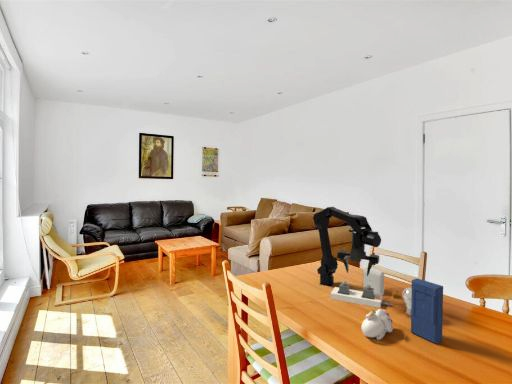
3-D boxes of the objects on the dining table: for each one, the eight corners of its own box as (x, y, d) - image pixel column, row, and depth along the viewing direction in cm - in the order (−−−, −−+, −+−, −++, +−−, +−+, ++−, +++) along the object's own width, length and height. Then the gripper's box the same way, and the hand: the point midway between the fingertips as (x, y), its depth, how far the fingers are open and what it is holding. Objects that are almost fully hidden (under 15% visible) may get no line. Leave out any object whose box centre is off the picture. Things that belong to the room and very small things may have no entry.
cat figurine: (366, 316, 102) (388, 300, 111) (350, 319, 108) (372, 304, 117) (380, 344, 99) (402, 325, 108) (363, 346, 105) (385, 328, 114)
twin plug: (339, 298, 138) (339, 282, 138) (341, 294, 142) (341, 279, 142) (347, 299, 136) (347, 283, 136) (349, 296, 140) (349, 281, 140)
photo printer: (361, 290, 149) (362, 267, 148) (366, 288, 151) (366, 265, 151) (381, 296, 141) (381, 271, 140) (385, 294, 143) (385, 270, 143)
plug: (363, 302, 133) (363, 286, 133) (364, 299, 137) (364, 283, 136) (372, 304, 131) (372, 287, 131) (373, 300, 135) (373, 284, 134)
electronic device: (443, 340, 103) (444, 285, 102) (435, 344, 100) (436, 288, 99) (417, 328, 111) (418, 277, 110) (409, 332, 108) (410, 280, 107)
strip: (330, 299, 138) (330, 292, 138) (335, 293, 146) (335, 285, 146) (390, 311, 125) (390, 302, 125) (391, 303, 133) (391, 295, 133)
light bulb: (418, 313, 123) (419, 285, 123) (422, 321, 117) (422, 292, 116) (400, 311, 126) (401, 284, 125) (403, 318, 119) (403, 290, 118)
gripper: (334, 243, 136) (333, 275, 137) (377, 248, 127) (376, 283, 128) (340, 238, 146) (339, 268, 147) (380, 243, 136) (378, 275, 138)
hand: (357, 274), depth 140 cm, fingers open, 9 cm apart
